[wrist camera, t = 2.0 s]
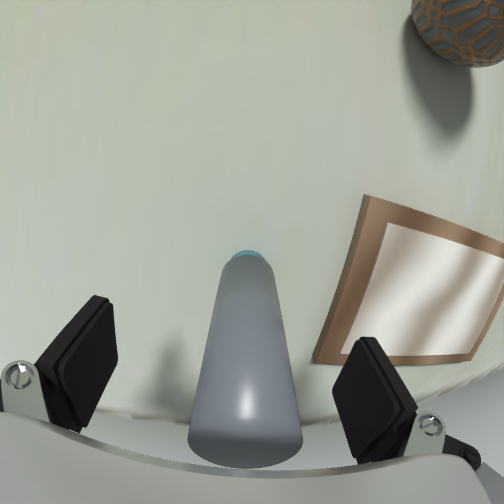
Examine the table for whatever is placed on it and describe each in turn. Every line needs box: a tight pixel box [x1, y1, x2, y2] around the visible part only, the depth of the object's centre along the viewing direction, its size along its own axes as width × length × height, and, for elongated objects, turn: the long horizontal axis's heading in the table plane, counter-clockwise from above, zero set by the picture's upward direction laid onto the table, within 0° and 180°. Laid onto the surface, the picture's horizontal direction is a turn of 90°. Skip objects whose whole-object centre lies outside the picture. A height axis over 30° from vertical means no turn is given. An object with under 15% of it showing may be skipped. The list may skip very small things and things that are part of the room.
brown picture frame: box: [313, 194, 504, 365], centre depth 18 cm, size 18×12×1 cm, turn 79°
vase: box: [411, 0, 504, 68], centre depth 7 cm, size 7×7×9 cm
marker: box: [188, 250, 303, 469], centre depth 12 cm, size 3×3×12 cm
